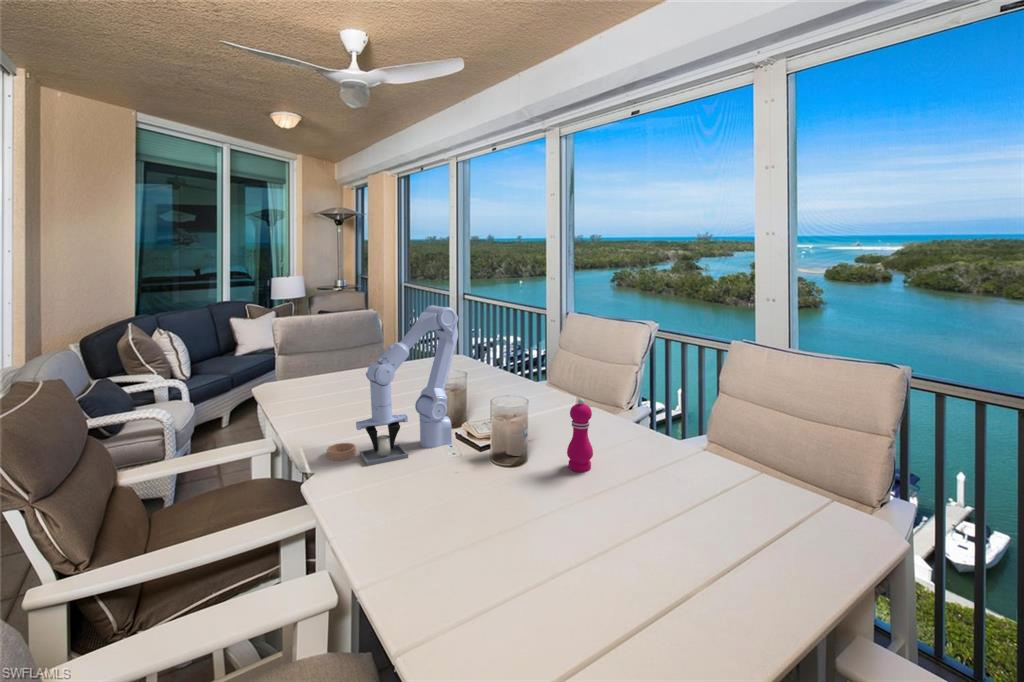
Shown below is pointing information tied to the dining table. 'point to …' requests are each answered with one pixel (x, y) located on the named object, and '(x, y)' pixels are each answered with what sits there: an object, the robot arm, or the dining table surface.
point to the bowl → (335, 455)
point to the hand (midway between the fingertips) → (383, 449)
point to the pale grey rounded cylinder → (383, 445)
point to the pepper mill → (580, 438)
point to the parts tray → (373, 459)
